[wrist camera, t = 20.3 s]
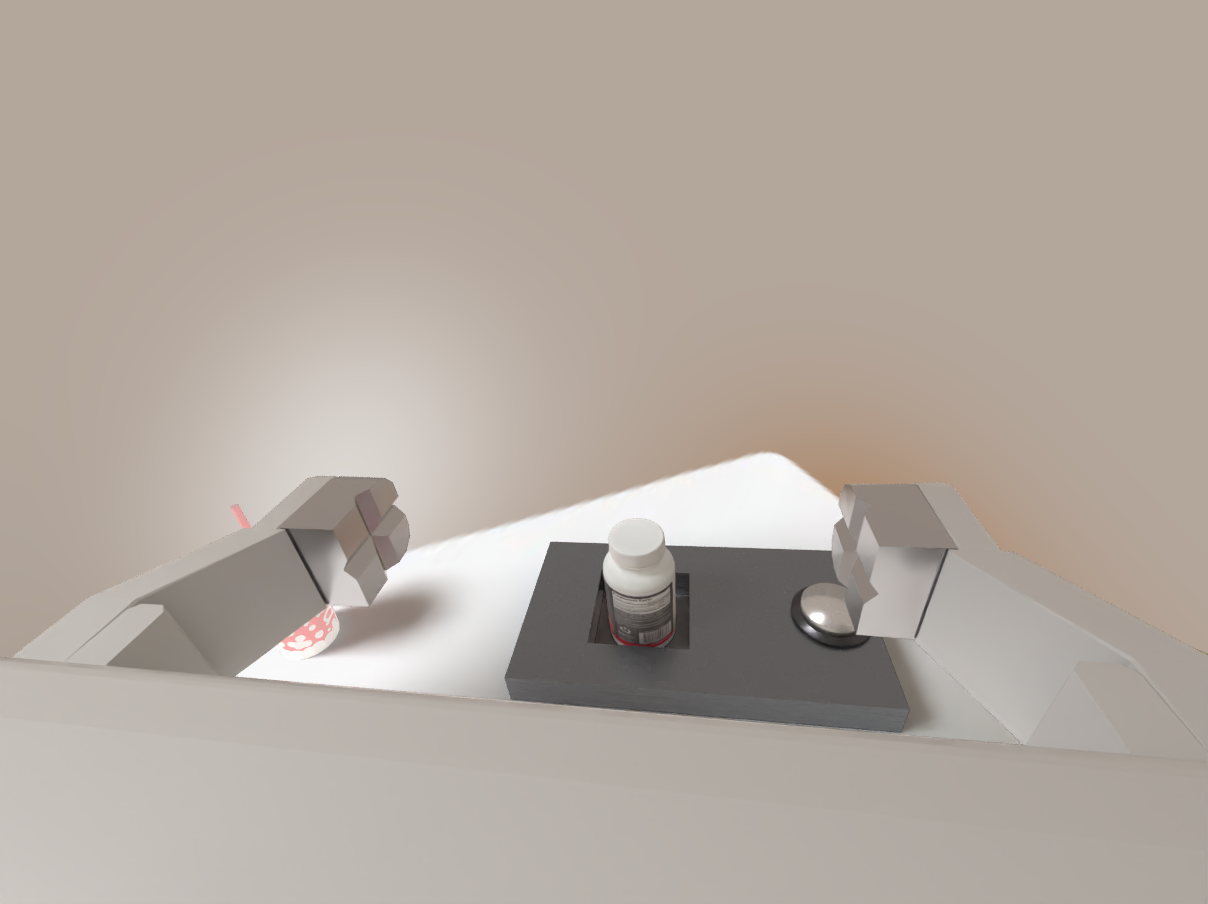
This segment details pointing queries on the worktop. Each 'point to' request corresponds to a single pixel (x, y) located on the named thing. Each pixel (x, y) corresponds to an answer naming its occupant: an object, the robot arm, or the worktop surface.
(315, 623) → the beverage cup
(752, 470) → the worktop surface
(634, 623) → the pill bottle
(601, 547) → the dark grey holder board
